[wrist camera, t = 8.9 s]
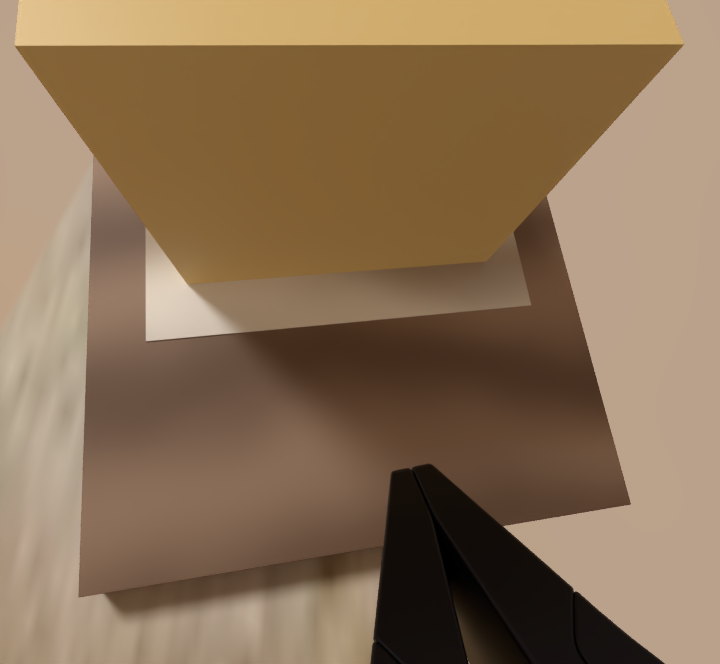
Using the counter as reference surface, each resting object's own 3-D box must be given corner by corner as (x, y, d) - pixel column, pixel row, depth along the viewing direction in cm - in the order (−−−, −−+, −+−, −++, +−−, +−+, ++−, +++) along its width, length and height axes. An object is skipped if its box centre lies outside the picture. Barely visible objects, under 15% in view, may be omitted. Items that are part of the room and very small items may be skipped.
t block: (486, 261, 18) (684, 44, 8) (187, 284, 16) (14, 45, 7) (436, 36, 21) (540, -309, 12) (180, 36, 19) (54, -368, 10)
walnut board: (609, 501, 17) (631, 504, 16) (97, 586, 14) (77, 598, 13) (482, 15, 24) (491, -8, 22) (110, 13, 21) (98, -14, 20)
